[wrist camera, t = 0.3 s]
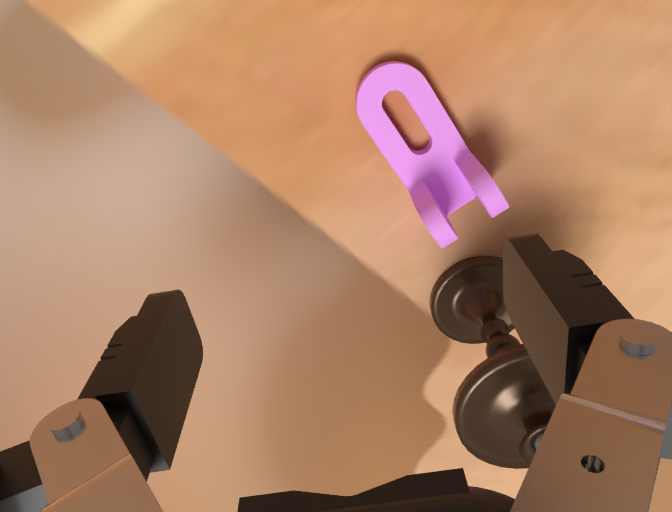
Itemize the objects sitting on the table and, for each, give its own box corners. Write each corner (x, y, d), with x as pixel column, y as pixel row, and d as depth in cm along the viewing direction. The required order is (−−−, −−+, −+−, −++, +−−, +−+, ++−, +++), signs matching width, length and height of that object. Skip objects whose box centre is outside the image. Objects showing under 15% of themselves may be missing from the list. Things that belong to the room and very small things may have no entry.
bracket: (486, 181, 43) (515, 215, 36) (429, 218, 44) (446, 256, 38) (403, 44, 37) (419, 57, 31) (341, 91, 39) (344, 112, 33)
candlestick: (461, 363, 51) (671, 935, 21) (396, 293, 47) (539, 879, 17) (558, 303, 48) (974, 873, 18) (497, 223, 44) (905, 784, 13)
